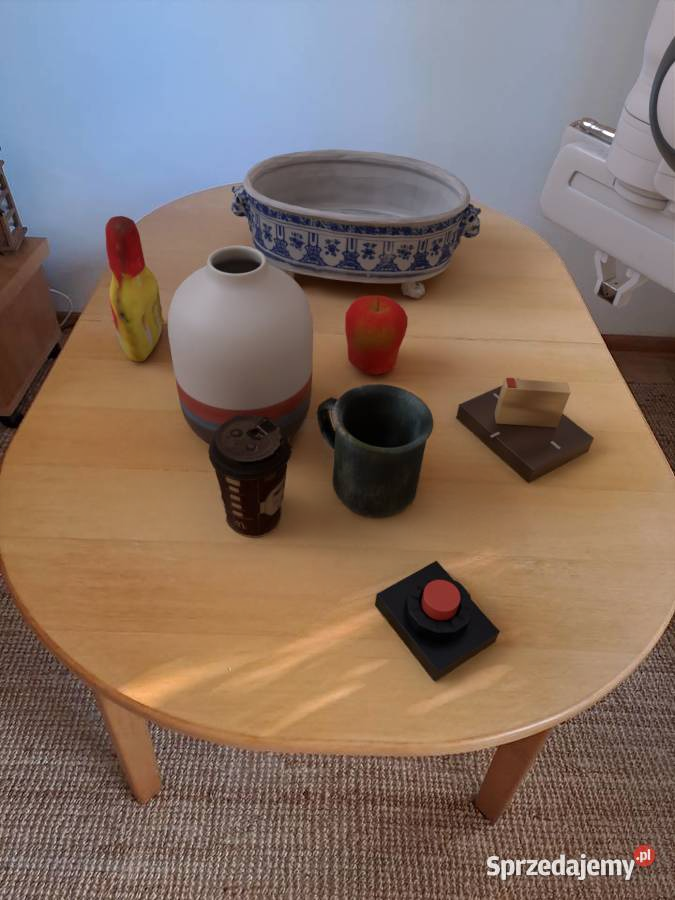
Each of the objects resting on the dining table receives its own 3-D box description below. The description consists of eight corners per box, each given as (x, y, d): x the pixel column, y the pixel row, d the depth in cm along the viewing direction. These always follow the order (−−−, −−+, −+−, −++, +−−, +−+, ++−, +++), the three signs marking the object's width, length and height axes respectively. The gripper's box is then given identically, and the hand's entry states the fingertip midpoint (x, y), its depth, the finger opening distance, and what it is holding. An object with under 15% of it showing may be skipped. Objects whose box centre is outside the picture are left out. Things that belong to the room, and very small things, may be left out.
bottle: (156, 370, 96) (131, 241, 81) (111, 368, 96) (79, 239, 81) (171, 322, 104) (152, 197, 90) (130, 320, 104) (104, 195, 90)
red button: (464, 609, 66) (468, 600, 65) (436, 627, 65) (439, 617, 64) (441, 583, 68) (444, 573, 67) (414, 599, 67) (416, 589, 66)
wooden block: (554, 417, 89) (568, 380, 84) (557, 427, 87) (571, 391, 83) (494, 413, 89) (504, 376, 84) (495, 423, 87) (506, 386, 83)
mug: (384, 539, 77) (396, 467, 68) (289, 476, 83) (289, 403, 74) (436, 485, 83) (453, 413, 74) (344, 430, 89) (350, 358, 80)
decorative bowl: (217, 292, 110) (209, 205, 100) (246, 217, 129) (241, 137, 118) (475, 314, 109) (495, 228, 99) (466, 235, 128) (482, 156, 117)
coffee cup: (292, 488, 81) (291, 408, 72) (293, 544, 75) (292, 465, 66) (219, 489, 81) (209, 409, 71) (215, 546, 75) (203, 466, 66)
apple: (332, 373, 97) (336, 303, 89) (357, 342, 103) (362, 274, 94) (387, 391, 95) (396, 322, 86) (409, 359, 100) (419, 291, 92)
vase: (291, 477, 83) (290, 315, 66) (162, 450, 85) (129, 287, 68) (324, 391, 94) (331, 235, 77) (210, 369, 96) (192, 213, 80)
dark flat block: (591, 449, 88) (598, 435, 87) (524, 485, 83) (530, 471, 82) (517, 390, 96) (521, 375, 94) (452, 419, 91) (455, 404, 89)
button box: (495, 642, 68) (504, 622, 65) (434, 682, 65) (440, 662, 62) (433, 571, 74) (439, 550, 71) (374, 605, 70) (377, 583, 68)
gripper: (546, 115, 59) (510, 258, 69) (757, 212, 47) (677, 367, 57) (595, 105, 61) (553, 243, 71) (806, 194, 50) (721, 345, 60)
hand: (609, 299), depth 64 cm, fingers closed
